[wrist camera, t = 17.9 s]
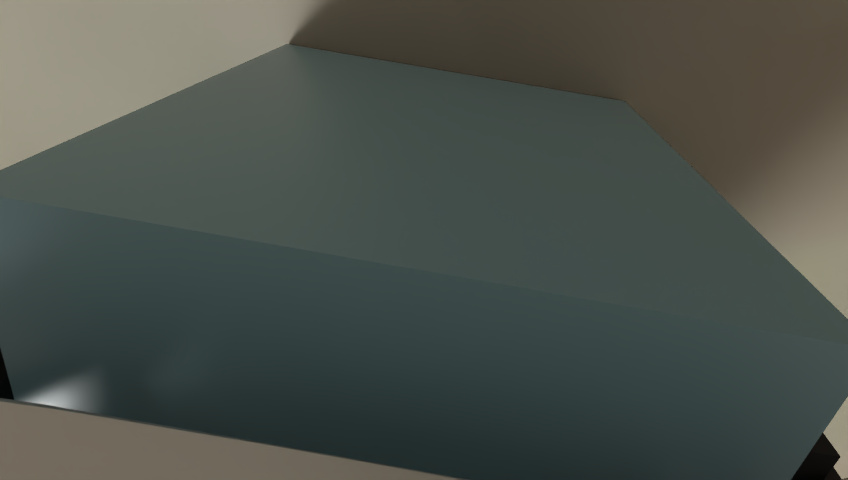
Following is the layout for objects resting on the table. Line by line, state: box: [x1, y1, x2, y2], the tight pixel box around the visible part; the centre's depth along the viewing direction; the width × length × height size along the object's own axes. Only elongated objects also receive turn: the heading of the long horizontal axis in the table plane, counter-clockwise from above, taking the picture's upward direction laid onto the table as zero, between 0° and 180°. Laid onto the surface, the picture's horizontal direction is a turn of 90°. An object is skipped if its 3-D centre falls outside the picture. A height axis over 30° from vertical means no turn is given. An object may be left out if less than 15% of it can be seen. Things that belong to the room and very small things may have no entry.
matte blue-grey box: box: [0, 44, 848, 480], centre depth 10 cm, size 8×8×9 cm
